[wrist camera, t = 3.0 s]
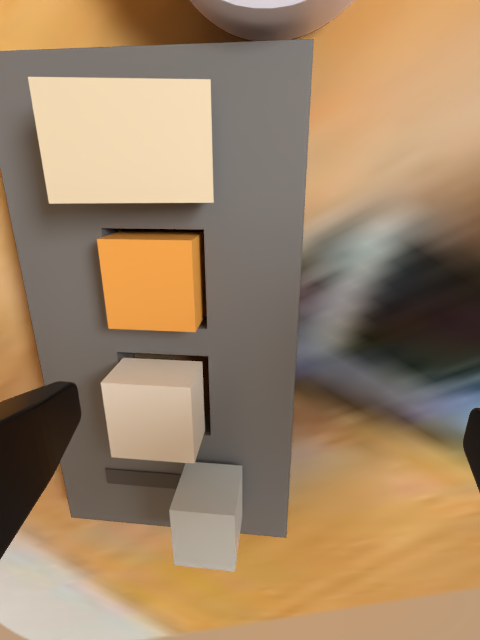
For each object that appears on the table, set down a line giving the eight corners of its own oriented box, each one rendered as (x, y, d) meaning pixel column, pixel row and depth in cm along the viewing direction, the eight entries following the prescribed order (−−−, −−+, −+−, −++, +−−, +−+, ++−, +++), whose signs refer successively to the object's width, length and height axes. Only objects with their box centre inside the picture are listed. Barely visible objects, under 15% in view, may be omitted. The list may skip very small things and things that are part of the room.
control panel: (310, 55, 16) (315, 31, 13) (286, 509, 24) (286, 550, 21) (10, 66, 17) (-40, 45, 14) (87, 492, 25) (64, 528, 23)
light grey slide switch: (242, 465, 20) (234, 515, 17) (242, 516, 21) (235, 571, 18) (186, 461, 20) (169, 510, 17) (189, 511, 22) (174, 565, 19)
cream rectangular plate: (210, 86, 14) (210, 79, 13) (213, 200, 15) (213, 202, 14) (40, 83, 14) (27, 76, 13) (59, 201, 15) (49, 203, 14)
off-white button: (202, 361, 19) (190, 387, 16) (204, 430, 20) (194, 463, 18) (123, 357, 19) (100, 382, 17) (131, 425, 20) (111, 457, 18)
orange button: (203, 232, 18) (191, 240, 15) (206, 313, 19) (195, 332, 17) (120, 231, 18) (96, 239, 16) (129, 310, 20) (108, 328, 17)
